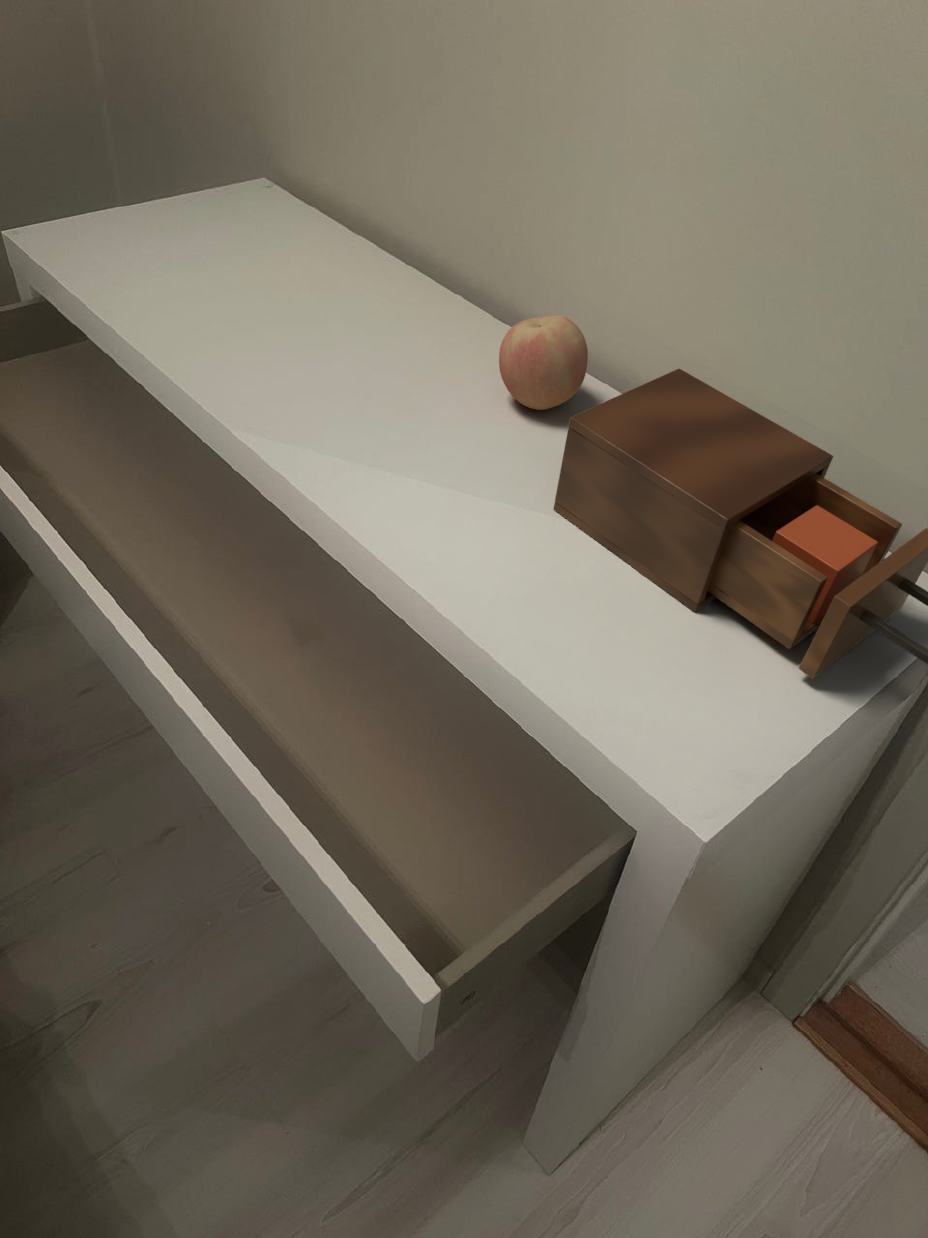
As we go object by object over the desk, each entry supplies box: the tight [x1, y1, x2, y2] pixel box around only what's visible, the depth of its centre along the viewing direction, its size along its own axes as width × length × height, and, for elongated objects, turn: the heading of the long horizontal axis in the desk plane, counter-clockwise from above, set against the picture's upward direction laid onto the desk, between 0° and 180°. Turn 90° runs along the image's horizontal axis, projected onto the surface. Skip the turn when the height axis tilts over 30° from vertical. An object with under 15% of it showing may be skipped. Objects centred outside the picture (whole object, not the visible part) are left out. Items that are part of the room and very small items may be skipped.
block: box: [772, 505, 878, 624], centre depth 65 cm, size 5×5×5 cm
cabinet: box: [553, 368, 834, 613], centre depth 71 cm, size 15×13×9 cm
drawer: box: [708, 473, 928, 680], centre depth 64 cm, size 20×11×7 cm, turn 41°
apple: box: [498, 314, 589, 411], centre depth 83 cm, size 8×8×8 cm
